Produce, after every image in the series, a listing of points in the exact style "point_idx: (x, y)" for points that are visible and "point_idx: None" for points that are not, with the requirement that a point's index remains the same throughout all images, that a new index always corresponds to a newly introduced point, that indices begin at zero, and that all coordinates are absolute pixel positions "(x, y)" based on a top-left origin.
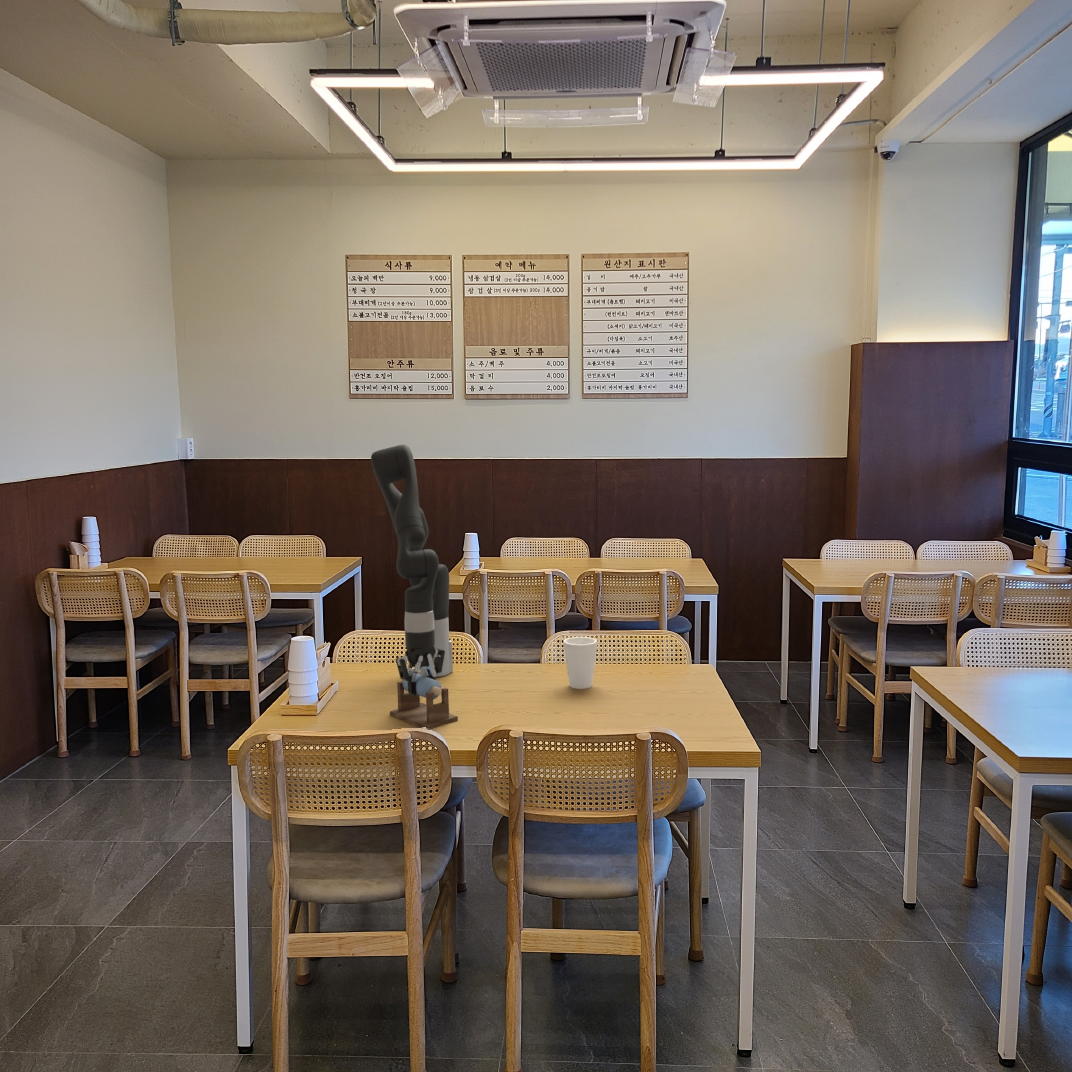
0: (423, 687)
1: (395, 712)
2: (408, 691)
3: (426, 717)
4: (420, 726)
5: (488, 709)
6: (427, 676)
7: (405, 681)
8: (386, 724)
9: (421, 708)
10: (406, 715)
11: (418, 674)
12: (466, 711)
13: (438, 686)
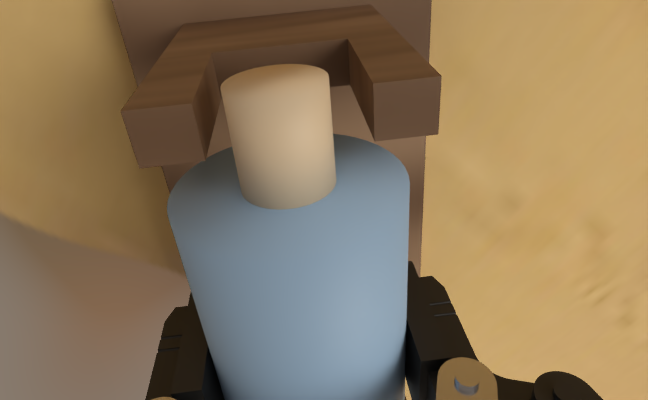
0: None
1: (144, 59)
2: (167, 328)
3: None
4: None
5: (626, 261)
6: (419, 365)
7: (182, 262)
8: (42, 161)
9: (348, 100)
10: (192, 166)
11: (336, 364)
12: (537, 229)
13: None
